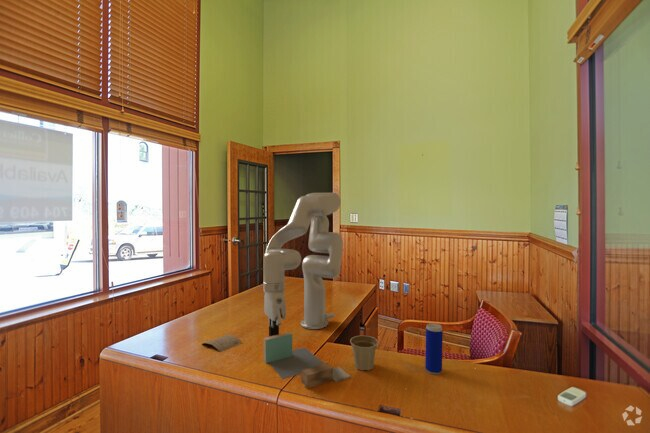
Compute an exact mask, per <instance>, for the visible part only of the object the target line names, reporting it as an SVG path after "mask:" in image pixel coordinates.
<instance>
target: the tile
mask: <svg viewBox="0 0 650 433" xmlns="http://www.w3.org/2000/svg"><path fill="white" fill-rule="evenodd" d="M292 350H293V333H292V332H291V331H289V332H283V333H279V335H274V336H270V337H269V336H266V337H263V362H264V364H269V363H268V362H272V361H276V360H279V359H283V358H287V357H291V356H292Z"/></svg>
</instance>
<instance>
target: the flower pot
mask: <svg viewBox="0 0 650 433" xmlns="http://www.w3.org/2000/svg"><path fill="white" fill-rule="evenodd" d="M349 343H350V344H351V349H352V352H353V353H352V354H353V361H354V366H355V367H356V369H358V370H359V371H370V370H372V369H373V368H374V364H375V355H376V349H377V347H378V345H379V340H378V339H377V338H375V337H374V336H370V335H356V336H353V337H351V338H350V340H349Z"/></svg>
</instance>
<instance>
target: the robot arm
mask: <svg viewBox="0 0 650 433" xmlns="http://www.w3.org/2000/svg"><path fill="white" fill-rule="evenodd" d="M295 202H296V203H295V204H294V207H293V210H292V212H291V215H290V217H289V220H288V222H287V223H286V225H284V226H283V227H281V228H280V229H278V231H277V232H275V234H273V236H272V237H271V239H269V242H268V244H267V246H266V249H265V252H264V255H263V268H262V269H263V270H262V271H263V275H262V276H263V280H262V281H263V286H262V287H263V292H264V299H263V308H264V309H263V310H264V315H265V316H266V317H267V318H268V337H270V336H274V335H279V334H280V326H281V325H282V320H286V319H287V309H286V307H287V306H286V296H285V290H286V288H285V286H286V285H285V280H286V279H285V276H286V274H285V272H286V271H287V270H288V271H289V270H290V271H291V270H292V271H293V270H295V269H297V268H298V267H299V266H300V265H301V269H302V270H301V271H302V276H303V283H304V284H303V285H304V287H303V298H304V299H303V319H302V320H301V321H300V326H301V327H303V328H304V329H307V330H319V329H324V327H325V328H326V327H328V326H329V321H328V319H333V318H335V313H334V312H331V313H329V312H326V284H325V281H324V279H335V278H336V279H337V278H338V277H339V275H340V272H341V268H342V257H343V247H344V242H343V237H342V235H341V234H340V233H338V232H334V231H333V232H331V231H329V228H330V222H329V221H330V220H329V218H328V217H327V216H328V215H331V214H334V213H335V212H337V211H338V210H339V209H340V207H341V203H342V202H341V197H340V195H339V194H338V193H336V192H311V193H307V194H306V195H301V196H300V197H299V198H298V199H297V200H296V201H295ZM309 227H310V228H309ZM308 230H309V233H308V234H309V236H308V249H309V251H312V252H313V253H320V254H328V255H318V254H309V255H306V256H305V257H304V258H303V260H302V255H301V253H300V252H299V251H298V250H295V249H292V248H291V249H289V248H282V247H283V246H284V244H286V243H288V242H289V241H292V240H294V239H297V238H300V237H302V236H304V235H306V234H307V232H308ZM323 278H324V279H323ZM327 325H328V326H327Z"/></svg>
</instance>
